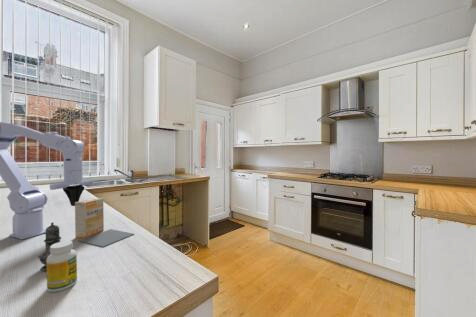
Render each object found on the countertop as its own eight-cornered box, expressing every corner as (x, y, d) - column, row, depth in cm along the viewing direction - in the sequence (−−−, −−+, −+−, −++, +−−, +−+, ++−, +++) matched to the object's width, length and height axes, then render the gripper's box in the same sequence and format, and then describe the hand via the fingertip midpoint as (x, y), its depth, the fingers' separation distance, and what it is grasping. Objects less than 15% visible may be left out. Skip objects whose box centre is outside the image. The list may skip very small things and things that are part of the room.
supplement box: (85, 238, 76) (85, 202, 76) (74, 237, 77) (74, 202, 77) (104, 230, 84) (104, 197, 84) (94, 229, 85) (93, 197, 85)
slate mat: (78, 241, 74) (78, 240, 74) (110, 229, 85) (110, 229, 85) (103, 247, 69) (103, 246, 69) (134, 234, 80) (134, 233, 80)
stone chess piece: (43, 274, 53) (41, 227, 53) (35, 268, 56) (33, 223, 56) (71, 264, 58) (70, 221, 58) (62, 259, 61) (61, 217, 61)
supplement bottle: (53, 281, 51) (52, 241, 50) (80, 276, 52) (79, 238, 52) (41, 295, 45) (40, 250, 45) (72, 289, 47) (71, 247, 47)
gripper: (57, 172, 74) (58, 211, 74) (98, 169, 87) (99, 202, 88) (46, 172, 77) (47, 209, 77) (88, 169, 90) (88, 201, 91)
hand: (74, 205), depth 83 cm, fingers closed
